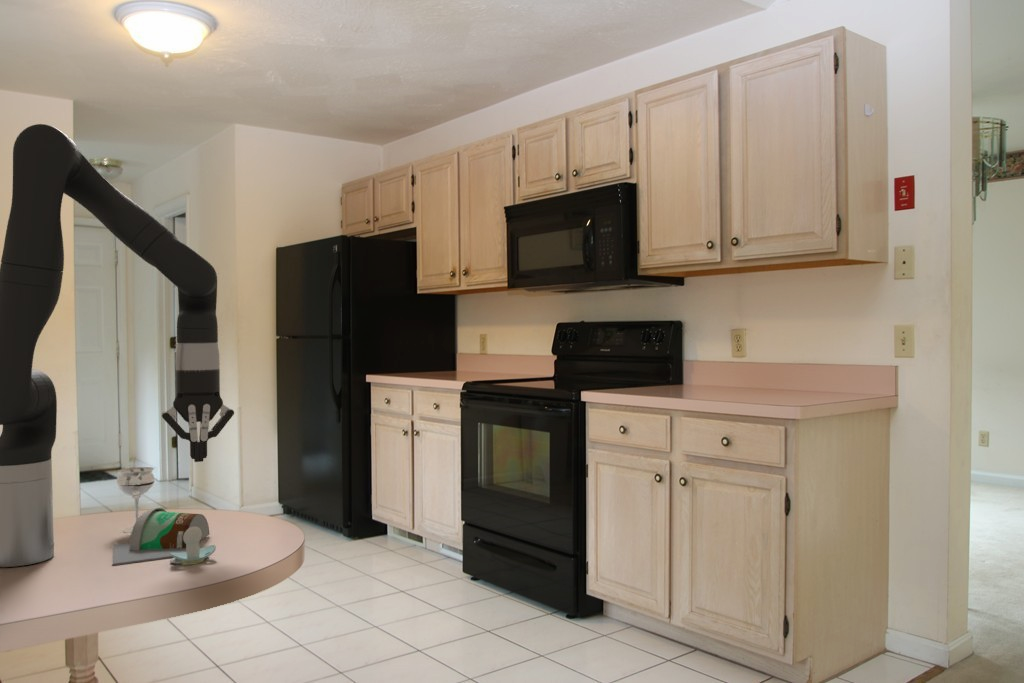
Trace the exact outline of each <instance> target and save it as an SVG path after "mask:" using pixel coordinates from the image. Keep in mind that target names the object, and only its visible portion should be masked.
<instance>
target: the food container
mask: <svg viewBox="0 0 1024 683" xmlns="http://www.w3.org/2000/svg"><path fill="white" fill-rule="evenodd" d="M208 522H209V521H208V520H207V517H205V515H204V514H202V513H190V512H189V513H188V512H175V511H167V510H166V509H164V508H162V507H157V508H153V509H149V510H147V511H145V512H143V513H141V514H140V515H139V516H138V519H137V521H136V520H135V522H134V524H133V526H134V527H133V526H132V527H133V530H132V533H130V538H129V543H130V549H129V550H136V551H139V550H145V549H174V548H186V543H185V542H184V540H183V536H184V533H185V532H186V530H187V529H189V528H191V527H198V528H200V530H201V532H202V537H201V540H202V539H204V538H205V539H206V538H207V537H208V536H210V527H209V523H208Z"/></svg>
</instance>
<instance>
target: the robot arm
mask: <svg viewBox="0 0 1024 683" xmlns="http://www.w3.org/2000/svg"><path fill="white" fill-rule="evenodd" d="M11 190H12V192H11V193H12V195H11V196H12V198H11V205H10V210H9V215H8V221H7V225H6V231H5V236H4V243H3V250H2V255H1V260H0V426H2V431H1V434H0V568H8V567H9V568H10V567H12V568H13V567H21V566H27V565H28V566H29V565H33V564H37V563H41V562H44V561H47V560H50V559H51V558H53V557H54V556H55V541H54V540H55V538H54V537H55V536H54V505H53V504H54V502H53V501H54V498H53V468H52V467H53V466H52V464H53V460H52V450H53V447H54V444H55V442H56V438H57V419H58V418H57V417H58V416H57V413H58V412H57V411H58V410H57V408H58V407H57V406H58V402H57V400H58V399H57V392H56V387H55V384H54V382H53V380H52V379H51V377H49V376H48V374H46V373H44V372H43V371H41V370H39V369H33V364H34V362H33V361H34V354H35V350H36V346H37V342H38V340H39V337H40V335H41V334H42V332H43V330H44V328H45V326H46V325H47V323H48V321H49V320H50V318H51V316H52V314H53V312H54V311H55V308H56V306H57V304H58V301H59V298H60V294H61V289H62V282H63V276H64V269H65V268H64V266H65V249H64V239H63V231H62V230H63V229H62V221H61V220H62V219H61V215H62V214H61V212H62V203H63V198H64V195H66V196H68V197H70V198H71V199H72V200H73V201H75V202H77V203H78V204H79V205H80V206H82V207H83V208H85V209H86V211H88V212H90V214H92V215H93V216H94V217H95V218H96V219H97V220H98V221H99V222H100V223H101V224H102V225H103V226H104V227H106V229H108V231H109V232H110V233H111V234H113V235H114V237H115V238H117V239H118V241H120V242H121V243H123V244H124V245H125V247H127V248H129V249H130V250H131V251H132V252H133V253H134V254H136V255H137V256H138V257H139V258H141V259H142V260H143V261H144V262H145V263H147V264H149V265H151V266H152V267H154V268H155V269H157V270H158V271H159V272H160V273H161V274H162V275H163V276H164V277H165V278H167V279H168V280H169V281H170V282H171V283H172V284H173V285H175V286H176V288H177V296H178V298H177V299H178V302H177V303H178V315H177V321H176V343H177V344H176V350H175V362H174V367H175V398H174V400H173V402H172V406H171V407H170V408H168V409H167V410H166V411H163V412H162V413H161V417H162V419H163V420H164V421H165V422H166V423H167V425H168V426H170V427H171V429H172V430H173V431H174V432H175V434H176V435H177V436H179V438H180V439H182V440H187V441H189V456H190V458H191V460H193V461H194V463H198V462H204V459H207V456H208V440H210V439H212V438H216V437H217V436H218V435H219V434H220V433H221V431H222V430H223V429H224V427H226V425H227V424H228V422H230V420H231V419H232V417H233V416H234V415H235V411H234V409H232V408H230V407H228V406H226V405H224V401H223V399H222V397H221V389H220V388H221V386H220V385H221V384H220V382H221V378H220V375H221V374H220V372H221V369H220V364H221V363H220V351H219V344H218V342H219V339H218V338H219V336H218V335H219V332H218V331H219V328H218V327H219V325H218V318H217V317H218V316H217V300H218V298H217V297H218V276H217V275H218V274H217V271H216V270H215V267H214V266H213V265H212V264H211V263H210V262H209V261H208V260H206V259H205V258H204V257H203V256H201V255H200V254H199V253H197V252H196V251H195V250H193V249H192V248H190V246H188V245H187V244H185V243H184V242H182V241H181V240H180V239H179V238H178V237H177V236H176V235H175V234H174V233H173V232H172V231H171V230H170V229H168V227H166V226H165V225H164V224H163V223H161V222H160V221H159V220H158V219H157V218H155V216H153V215H152V214H150V212H148V211H147V210H145V208H143V207H141V206H140V205H138V203H137V202H135V201H133V200H132V199H131V198H129V197H128V196H126V195H125V194H124V193H123V192H121V191H120V190H119V189H118V188H116V187H115V186H114V185H113V184H111V183H110V182H109V181H108V180H107V179H106V178H105V176H103V175H102V174H101V173H100V172H99V171H98V170H97V169H96V168H95V167H94V166H93V165H92V163H91V162H90V161H89V160H88V159H87V158H86V157H85V155H84V154H83V153H82V152H81V151H80V148H79V147H78V145H77V144H76V143H75V142H74V140H73V139H72V138H70V137H69V136H68V135H67V134H66V133H64V131H61V130H60V129H58V128H57V127H55V126H53V125H49V124H44V123H36V124H32V125H30V126H27V127H26V128H24V129H23V130H22V131H20V133H19V134H18V135H17V137H16V139H15V141H14V144H13V148H12V189H11ZM176 412H177V414H179V415H180V417H182V419H183V420H184V421H185V422H186V423H187V424H188V432H187V431H185V430H184V429H183V427H181V425H180V424H179V423H178V422H177V421H176V419H177V418H178V417H177V414H176ZM218 412H219V416H220V417H219V419H218V420H217V421H216V423H215V424H214V425H213V427H212V428H211V429H210V430H209V427H210V422H211V421H212V420H213V419H214V418H215V416H216V414H217V413H218ZM198 423H199V438H198ZM198 439H199V440H198Z"/></svg>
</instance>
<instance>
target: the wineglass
mask: <svg viewBox="0 0 1024 683" xmlns="http://www.w3.org/2000/svg"><path fill="white" fill-rule="evenodd" d="M154 469H155V468H154V467H150V466H149V467H148V466H147V467H146V466H144V467H141V466H140V467H129V468H123V469H119V470H117V474H118V475H119V476H118V477H117V481H116V483H117V487H118V490H120V491H121V492H122V493H123V494H125V495H128V496H131V498H132V499H133V500H134V512H135V513H134V514H135V516H134V517H135V522H136V521H137V519H138V518H139V504H140V502H139V500H140V499H139V498H141V496H142V495H144V494H146V493H148V492H149V490H151V488H152V487H153V485H154V483H155V476H154V474H153V471H154ZM133 527H134V525H133V526H131V527H129V528H126V529H124V530H123V532H124V533H130V534H131V533H132V530H133Z"/></svg>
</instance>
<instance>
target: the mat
mask: <svg viewBox="0 0 1024 683" xmlns="http://www.w3.org/2000/svg"><path fill="white" fill-rule="evenodd" d="M129 549H130V542H125V543H124V542H123V543H118V544H117V543H116V544H113V550H112V566H119V565H128V564H134V563H143V562H150V561H155V560H164V559H172V558H173V557H172V556H171V555H170V553H181V552H186V548H174V549H145V550H139V551H136V550H129Z"/></svg>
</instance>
